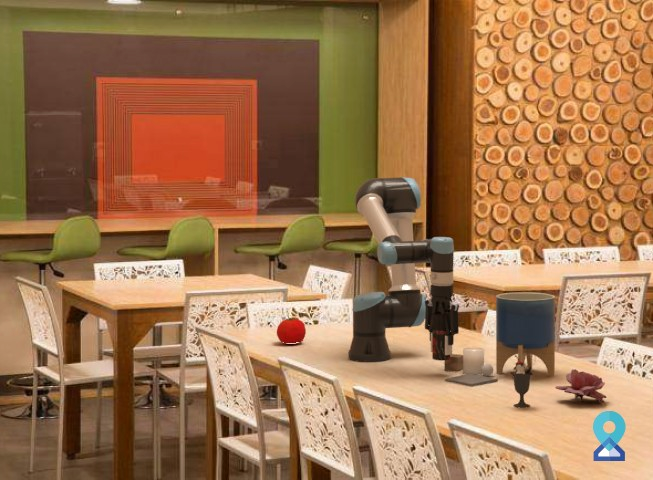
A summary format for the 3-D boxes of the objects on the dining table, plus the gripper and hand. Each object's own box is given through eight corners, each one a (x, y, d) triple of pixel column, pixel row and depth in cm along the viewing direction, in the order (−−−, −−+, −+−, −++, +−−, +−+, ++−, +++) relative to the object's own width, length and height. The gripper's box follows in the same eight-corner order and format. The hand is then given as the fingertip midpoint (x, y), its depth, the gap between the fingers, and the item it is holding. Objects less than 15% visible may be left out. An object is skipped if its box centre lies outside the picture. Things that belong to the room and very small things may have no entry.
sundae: (507, 403, 372) (508, 354, 370) (530, 403, 372) (530, 353, 371) (513, 408, 365) (513, 358, 364) (535, 408, 366) (535, 357, 364)
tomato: (312, 342, 482) (312, 316, 481) (294, 347, 471) (293, 321, 470) (288, 340, 488) (288, 314, 487) (270, 345, 477) (269, 319, 476)
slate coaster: (444, 381, 406) (444, 378, 406) (470, 376, 414) (470, 373, 414) (472, 386, 397) (472, 384, 397) (497, 381, 405) (497, 378, 405)
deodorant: (449, 360, 412) (449, 315, 410) (431, 360, 413) (431, 315, 411) (451, 357, 418) (451, 312, 416) (433, 356, 419) (433, 312, 417)
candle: (458, 372, 420) (458, 349, 419) (473, 370, 424) (472, 346, 424) (474, 375, 414) (474, 351, 414) (488, 372, 419) (488, 349, 418)
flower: (575, 400, 362) (580, 366, 364) (546, 397, 376) (552, 364, 377) (616, 410, 368) (622, 376, 369) (587, 406, 381) (592, 374, 383)
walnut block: (444, 370, 424) (444, 356, 423) (450, 368, 428) (450, 353, 428) (458, 372, 421) (458, 357, 421) (463, 369, 426) (463, 355, 425)
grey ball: (478, 376, 414) (478, 364, 413) (486, 374, 416) (486, 362, 416) (487, 377, 411) (487, 365, 410) (495, 376, 413) (495, 364, 413)
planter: (558, 370, 421) (559, 293, 419) (549, 381, 403) (550, 301, 401) (502, 367, 427) (502, 291, 425) (490, 378, 409) (490, 298, 407)
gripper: (413, 282, 417) (413, 350, 420) (454, 288, 403) (454, 359, 406) (429, 279, 422) (429, 347, 425) (470, 286, 408) (470, 355, 411)
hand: (441, 352), depth 415 cm, fingers closed on deodorant, 6 cm apart
